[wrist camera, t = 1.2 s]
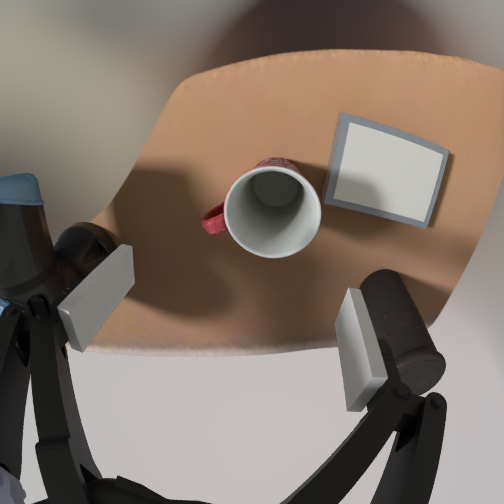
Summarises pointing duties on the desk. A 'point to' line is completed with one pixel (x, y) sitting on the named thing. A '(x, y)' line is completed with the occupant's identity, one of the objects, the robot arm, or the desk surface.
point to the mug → (268, 210)
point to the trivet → (383, 171)
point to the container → (402, 330)
